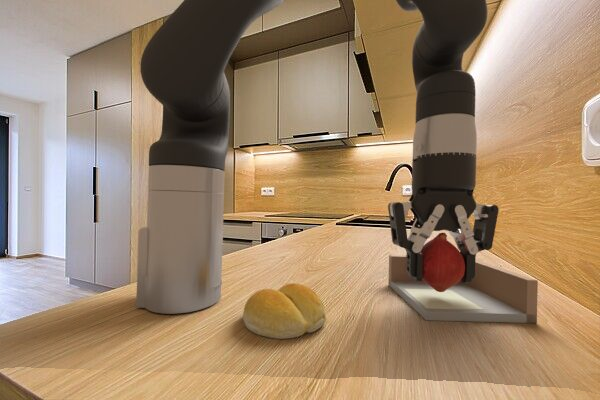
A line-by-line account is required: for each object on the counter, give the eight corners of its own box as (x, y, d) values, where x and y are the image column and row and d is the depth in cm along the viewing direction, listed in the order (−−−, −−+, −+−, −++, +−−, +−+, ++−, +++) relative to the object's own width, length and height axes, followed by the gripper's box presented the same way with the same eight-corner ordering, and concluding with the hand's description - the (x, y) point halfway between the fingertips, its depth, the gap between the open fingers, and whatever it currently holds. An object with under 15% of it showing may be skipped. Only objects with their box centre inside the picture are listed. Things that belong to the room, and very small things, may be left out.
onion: (420, 297, 33) (422, 233, 33) (411, 283, 39) (412, 229, 39) (472, 301, 32) (474, 236, 32) (454, 287, 38) (455, 231, 38)
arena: (426, 320, 31) (427, 277, 31) (388, 284, 44) (389, 254, 44) (536, 323, 31) (537, 280, 31) (466, 287, 44) (466, 257, 44)
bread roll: (233, 317, 31) (234, 282, 31) (299, 304, 35) (300, 274, 35) (260, 352, 24) (261, 308, 24) (338, 330, 28) (339, 293, 28)
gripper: (477, 161, 39) (474, 274, 39) (380, 158, 39) (377, 271, 39) (519, 151, 32) (516, 291, 31) (400, 148, 32) (396, 288, 31)
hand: (439, 279), depth 35 cm, fingers closed on onion, 6 cm apart
